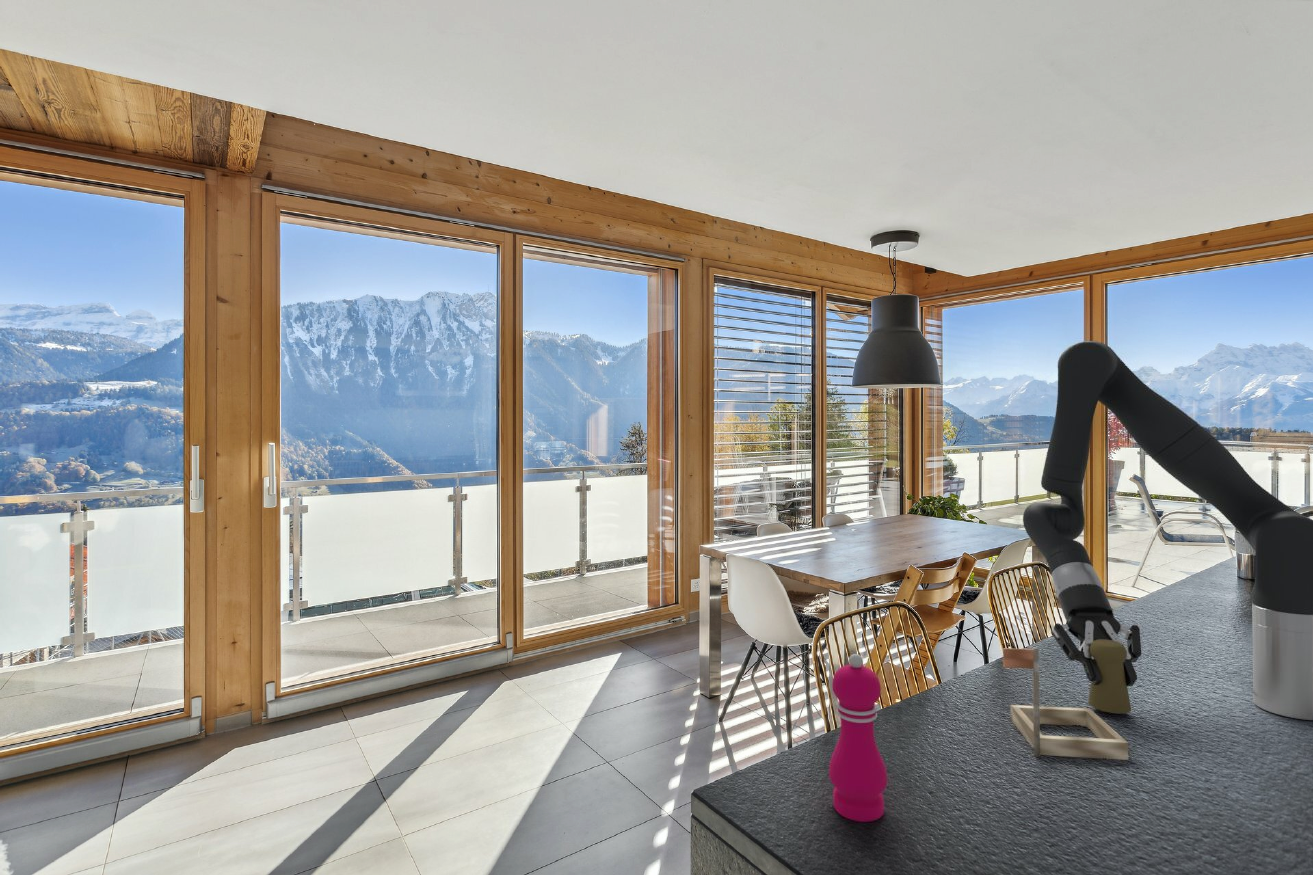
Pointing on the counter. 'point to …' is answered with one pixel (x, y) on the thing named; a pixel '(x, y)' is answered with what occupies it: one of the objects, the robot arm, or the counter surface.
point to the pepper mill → (857, 745)
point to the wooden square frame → (1060, 720)
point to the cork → (1109, 677)
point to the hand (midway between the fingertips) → (1114, 683)
